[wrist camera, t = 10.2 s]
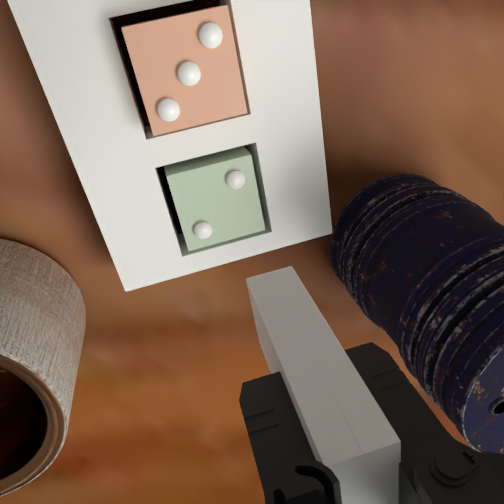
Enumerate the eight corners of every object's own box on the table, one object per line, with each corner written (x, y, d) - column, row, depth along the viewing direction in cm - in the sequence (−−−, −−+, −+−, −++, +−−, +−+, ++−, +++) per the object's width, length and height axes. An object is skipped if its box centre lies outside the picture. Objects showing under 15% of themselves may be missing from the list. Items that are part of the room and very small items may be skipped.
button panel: (126, 266, 28) (125, 291, 26) (-56, -197, 17) (-88, -234, 15) (315, 214, 30) (332, 233, 27) (260, -244, 19) (281, -286, 16)
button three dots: (151, 121, 23) (153, 136, 20) (122, 26, 21) (121, 27, 18) (234, 101, 24) (248, 113, 21) (215, 6, 21) (228, 4, 19)
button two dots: (183, 228, 28) (189, 253, 25) (162, 158, 25) (166, 177, 23) (252, 209, 28) (266, 231, 25) (238, 139, 26) (252, 155, 23)
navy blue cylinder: (448, 151, 30) (683, 253, 17) (454, 265, 35) (639, 409, 22) (314, 202, 29) (453, 347, 17) (339, 311, 34) (462, 486, 22)
